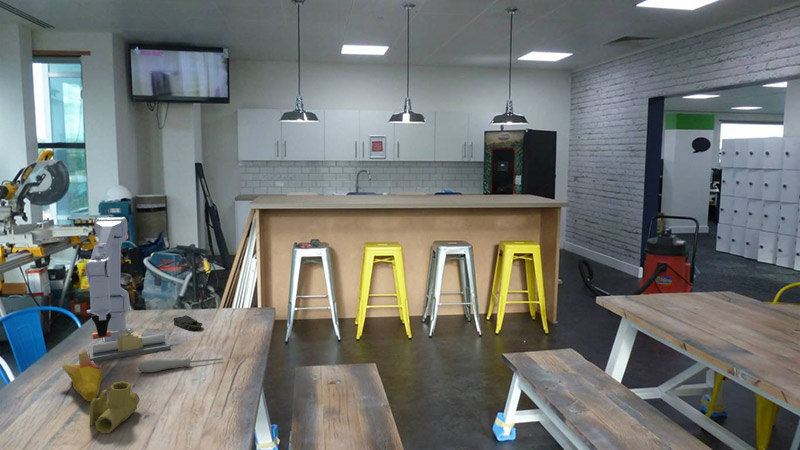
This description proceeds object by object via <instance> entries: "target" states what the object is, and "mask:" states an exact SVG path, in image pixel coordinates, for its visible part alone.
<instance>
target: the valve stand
mask: <svg viewBox="0 0 800 450" xmlns="http://www.w3.org/2000/svg"><path fill="white" fill-rule="evenodd" d="M91 347H92V348H91V349H88V356H89V359H90V361H94V363H95V362H102V361H107V360H111V359H113V360H114V359H119V358H125V357H126V358H127V357H131V356H139V355H144V354H150V353H157V352H161V351H168V350H171V344H170V343H169V341H168V340H167V338H166V335H165V333H159V334H153V335H147V336H142V334H138V332H137V331H135V332H134V331H133V333H126V334H120V338H117V341H112V342H106V343H104V342H100V343H95V344H94V343H93V344H92V346H91Z"/></svg>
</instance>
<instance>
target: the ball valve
mask: <svg viewBox="0 0 800 450" xmlns="http://www.w3.org/2000/svg"><path fill="white" fill-rule="evenodd" d="M131 386H132V383H130V382H128V381H124V380H123V381H116V382H113V384H111V385H110V386H109V387H110V388H109V390H107V389H104V390H102V391H101V392H100V394H99V395H98V398H97V397H96V398H93V400H92V401H90V403H89V404H90V405H89V426H90V427H93V426H95V428H96V431H99V432H100V433H101V434H110V433H112V432H113V430H115V429H116V428H117V427H118V426H119V425H120V424H122V423H123V422H124V421H126V420H127V419H128V418H129V417H130V416H131V415H133V413H135V411H136V410H137V408H138V405H139V402H140V397H139V395H138V393H137V392H135V391H132V390H131V388H132V387H131ZM108 391H109V392H108ZM108 393H109V395H108Z"/></svg>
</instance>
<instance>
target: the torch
mask: <svg viewBox="0 0 800 450" xmlns="http://www.w3.org/2000/svg"><path fill="white" fill-rule="evenodd" d="M78 363H79V364H75V363H68V362H67V361H66V360H64V361H63V363H60V364H61V368H62V369H63V370H64V371H65V373H66V374H67V375H68V376H69V378H70V379H71V382H72V387H73V389H75V391H76V392H77V393H78V394H79V395H80V396H81V397H82V398H83V399H84V400H86V401H87V402H91V401H92V400H93V398H97V396H99V392H100V388H101V383H102V381H103V375H102V366H97V365H96V363H95V362H94V361H90V356H89V353H88V352H87V351H86V349H85V347H84V346H83V347H82V348H81V349H80V351H79V352H78Z"/></svg>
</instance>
